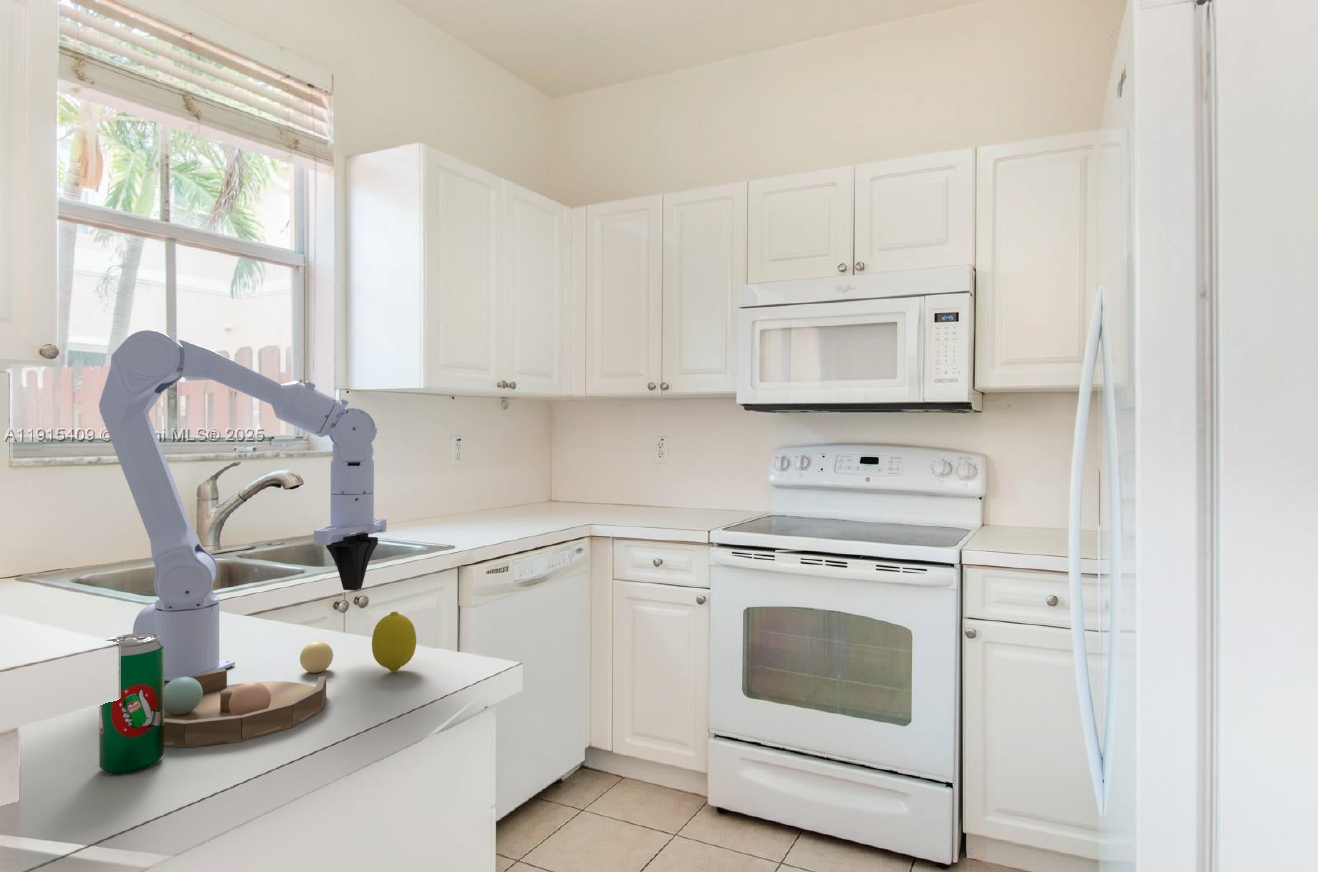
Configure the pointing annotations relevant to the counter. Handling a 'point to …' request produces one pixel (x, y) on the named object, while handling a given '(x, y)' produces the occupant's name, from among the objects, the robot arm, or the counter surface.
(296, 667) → the counter surface
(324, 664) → the pale yellow ball
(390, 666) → the lemon
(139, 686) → the soda can
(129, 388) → the robot arm
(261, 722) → the groove tray
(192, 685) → the bead teal
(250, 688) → the bead terracotta
